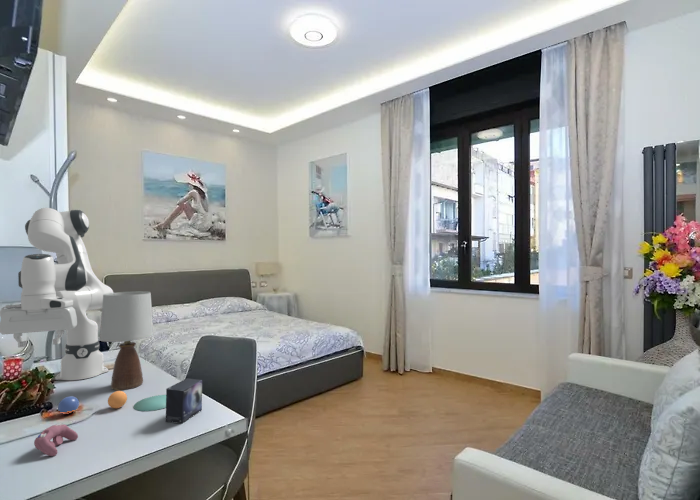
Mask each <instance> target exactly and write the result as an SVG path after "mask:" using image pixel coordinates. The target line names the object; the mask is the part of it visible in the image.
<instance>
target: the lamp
mask: <svg viewBox="0 0 700 500" xmlns="http://www.w3.org/2000/svg"><path fill="white" fill-rule="evenodd" d="M151 294H152V293H151V291H143V290H142V291H138V290H137V291H120V292H113V293H108V294H104V295H103V303H102V308H101V315H100V316H101V317H100V329H99V330H100V331H99V342H100V341H101V342H104V343H119V344H118V347H119V350H118V353H117V355H116V358H115V361H114V364H113V369H112V374H111V375H112V376H111V381H110V389H112V390H114V391H122V390H123V391H124V390H130V389H134V388H138V387H139V386H141V385H143V383H144V379H143V378H144V377H143V371H142V366H141V365H142V364H141V361H140V356H139V354H138V351H137V350H136V347H135V346H137V343H136V342H134V341H138V340H144V339H147V338H150V337H153V336H154V322H153V307H152V295H151ZM120 342H121V343H120Z"/></svg>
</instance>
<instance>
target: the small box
mask: <svg viewBox="0 0 700 500" xmlns="http://www.w3.org/2000/svg"><path fill="white" fill-rule="evenodd" d="M165 390H166V393H165V395H166V408H165V423H174V424H175V423H176V424H183V422H184V423H185V422H187V421H188V420H190V419H191V418H192V417H194V416H196V415H197V414H198V413H200V412H202V411H201V410H203V403H202V402H203V379H198V378H197V379H196V378H195V379H194V378H185V379H183V380H181V381H179V382H177V383H175V384H173V385H171V386H169V387H167V388H166V389H165ZM199 411H200V412H199ZM193 415H194V416H193ZM189 418H190V419H189ZM186 420H187V421H186Z"/></svg>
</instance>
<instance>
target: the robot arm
mask: <svg viewBox="0 0 700 500" xmlns="http://www.w3.org/2000/svg"><path fill="white" fill-rule="evenodd" d="M24 229H25V233H26V235H27V240H28V242H29V243H30V244H31V245H32V246H33V247H34V248H36V249H37V250H39V251H43V252H48V254H46V253H35V254H27V255H25V256H23V258H22V262H21V268H20V271H18V276H17V277H18V278H17V279H18V281H17V282H18V287H19V288H21V289H22V291H21V293H20V304H7V305H5V306H4V307H2V308H1V309H0V334H1V335H4V336H5V335H13V339H14V340H15V342H17V347H18V348H26V347H27V340H24V339H23V338H22V336H23V334H29V333H40V332H41V333H42V332H53V331H56V334H57V336H56V337H55V338H53V339H52V345H60V344H61V338H62V337H63V335H64V333H65V331H66V344H65V348H64V350H65V355H64V356H63V357H62V358H61V359H60V372H59V373H58V374H57V375H56V376H55V377H54V380H56V381H57V380H58V381H59V380H60V381H61V380H62V381H78V380H80V381H81V380H83V379H89V378H93V377H94V378H95V377H96V376H99V375H102V374H104V373H107V372H109V369H108V367H106V366H105V365H104V353H102V352H101V351H100V350H99V349H100V340H99V325H98V323H97V322H96V321H95V320H93V319H91V318H88V316H87V311H92V310H93V311H94V310H99V309H102V303H103V295H104V294H108V293H114V290H113V289H112V288H111V287H110V285H107V284H105V283H103V282H102V281H101V279H99V278H98V277H97V275H96V274H95V273H94V271H93V268H92V265H91V261H90V259H89V255H88V250H87V248H86V246H85V245H86V244H85V243H84V241H83V238H84V237H85V234H86V233H88V230H89V229H90V220H89V218H88V216H87V215H86V213H85V212H84V211H83V210H80V209H71V210H67V211H65V210H64V211H58V210H56V209H54V208H53V207H52V208H51V207H42V208H41V207H40V208H38V209H37V210H35V212H34V213H33V214H32V216H31V218H30V219H29V220H27V222H26V223H25V224H24ZM49 253H54V254H56V255H55V256H56V260H57V263H55V261H54V257H53V255H51V254H49Z"/></svg>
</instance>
